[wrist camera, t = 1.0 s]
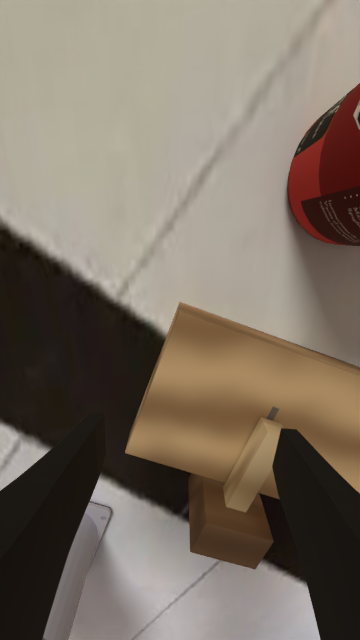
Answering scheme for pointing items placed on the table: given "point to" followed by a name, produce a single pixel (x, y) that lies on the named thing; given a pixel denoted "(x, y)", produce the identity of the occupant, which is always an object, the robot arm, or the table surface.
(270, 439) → the brown block with bar
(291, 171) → the canned food
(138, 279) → the table surface
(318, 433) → the oak board
